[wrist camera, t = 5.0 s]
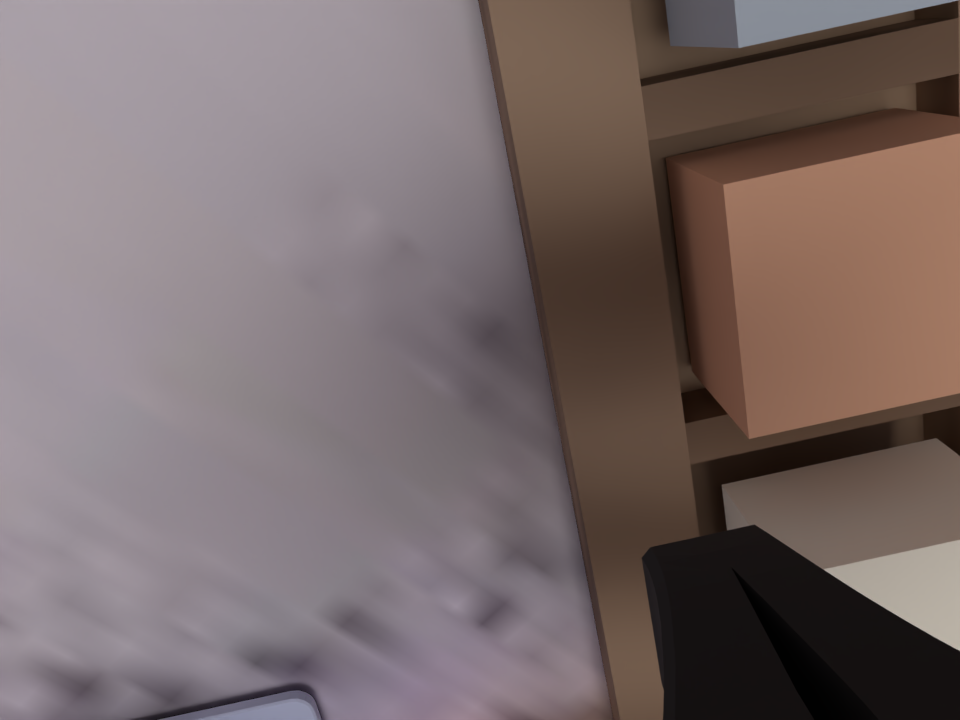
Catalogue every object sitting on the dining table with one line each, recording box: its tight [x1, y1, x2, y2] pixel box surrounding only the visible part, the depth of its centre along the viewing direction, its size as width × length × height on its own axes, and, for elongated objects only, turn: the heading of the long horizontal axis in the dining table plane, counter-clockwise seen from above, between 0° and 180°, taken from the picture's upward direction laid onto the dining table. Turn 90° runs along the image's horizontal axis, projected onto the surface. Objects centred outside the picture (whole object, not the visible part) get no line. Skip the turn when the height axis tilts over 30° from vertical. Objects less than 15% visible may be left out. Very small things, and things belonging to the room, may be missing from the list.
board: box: [478, 0, 960, 720], centre depth 18 cm, size 26×11×2 cm, turn 11°
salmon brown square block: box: [666, 108, 960, 439], centre depth 17 cm, size 5×5×4 cm
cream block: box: [722, 438, 960, 651], centre depth 18 cm, size 5×5×4 cm
